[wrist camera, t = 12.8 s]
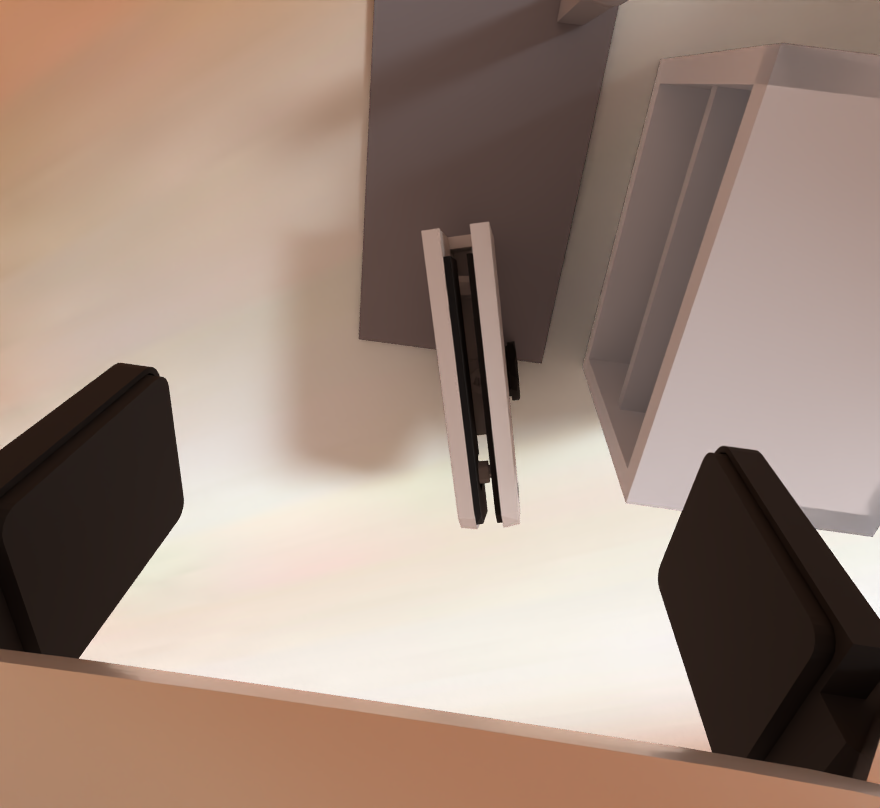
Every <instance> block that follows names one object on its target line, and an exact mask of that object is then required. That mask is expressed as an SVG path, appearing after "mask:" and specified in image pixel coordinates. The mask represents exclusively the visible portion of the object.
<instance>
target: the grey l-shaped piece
mask: <svg viewBox="0 0 880 808" xmlns="http://www.w3.org/2000/svg"><path fill="white" fill-rule="evenodd" d="M626 1H628V0H374V21H373V43H372V65H371V87H370V109H369V131H368V152H367V174H366V196H365V218H364V240H363V262H362V283H361V305H360V327H359V339H362V340H369V341H377V342H384V343H392V344H399V345H407V346H414V347H422V348H429V349H436V342H435V334H434V326H433V319H432V311H431V303H430V295H429V287H428V280H427V272H426V264H425V256H424V249H423V241H422V233H421V231H424V230H431V229H437V228H439V229H440V230H441V231H442V232H443V233H444V234H445V235H446V236H447V237H454V236H462V235H469V234H471V231H470V224H474V223H482V222H489V224H490V227H491V230H492V233H493V236H494V245H495V255H496V265H497V275H498V286H499V296H500V306H501V316H502V327H503V337H504V346H507V342H512V341H515V348H516V356H517V360H520V361H527V362H535V363H542V358H543V354H544V349H545V345H546V340H547V335H548V331H549V326H550V321H551V317H552V312H553V307H554V303H555V298H556V294H557V289H558V284H559V280H560V275H561V270H562V266H563V261H564V257H565V252H566V247H567V243H568V238H569V233H570V229H571V224H572V219H573V215H574V210H575V206H576V201H577V196H578V192H579V187H580V182H581V178H582V173H583V169H584V164H585V159H586V155H587V150H588V145H589V141H590V136H591V131H592V127H593V122H594V118H595V113H596V108H597V104H598V99H599V94H600V90H601V85H602V81H603V76H604V71H605V67H606V62H607V57H608V53H609V48H610V44H611V39H612V34H613V30H614V25H615V20H616V16H617V11H618V6H619V5H621V4H623V3H624V2H626Z"/></svg>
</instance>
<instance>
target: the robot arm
mask: <svg viewBox="0 0 880 808" xmlns="http://www.w3.org/2000/svg"><path fill="white" fill-rule="evenodd" d="M183 505H184V497H183V489H182V482H181V474H180V467H179V459H178V452H177V444H176V437H175V429H174V422H173V415H172V407H171V400H170V392H169V386H168V382H167V380H166V379H165V378H164V377H160V376H159V373H158V372H157V370H156V369H155V368H153V367H147V366H140V365H132V364H125V363H117V364H115V365H113V366H112V367H111V368H109V369H108V370H107V371H105V372H104V373H103V374H101V375H100V376H99V377H97V378H96V379H95V380H93V381H92V382H91V383H89V384H88V385H87V386H85V387H84V388H83V389H81V390H80V391H79V392H77V393H76V394H75V395H73V396H72V397H71V398H69V399H68V400H67V401H65V402H64V403H63V404H61V405H60V406H59V407H57V408H56V409H55V410H53V411H52V412H51V413H49V414H48V415H47V416H45V417H44V418H43V419H41V420H40V421H39V422H37V423H36V424H35V425H33V426H32V427H31V428H29V429H28V430H26V431H25V432H24V433H22V434H21V435H20V436H18V437H17V438H16V439H14V440H13V441H12V442H10V443H9V444H8V445H6V446H5V447H4V448H2V449H1V450H0V808H880V619H879V617H878V616H877V615H876V613H875V612H874V610H873V609H872V608H871V606H870V605H869V603H868V602H867V601H866V599H865V598H864V596H863V595H862V594H861V592H860V591H859V589H858V588H857V587H856V585H855V584H854V582H853V581H852V580H851V578H850V577H849V575H848V574H847V573H846V571H845V570H844V568H843V567H842V566H841V564H840V563H839V561H838V560H837V559H836V557H835V556H834V554H833V553H832V552H831V550H830V549H829V547H828V546H827V545H826V543H825V542H824V540H823V539H822V538H821V536H820V535H819V533H818V532H817V531H816V529H815V528H814V526H813V525H812V524H811V522H810V521H809V519H808V518H807V517H806V515H805V514H804V512H803V511H802V510H801V508H800V507H799V505H798V504H797V503H796V501H795V500H794V498H793V497H792V496H791V494H790V493H789V491H788V490H787V489H786V487H785V486H784V484H783V483H782V482H781V480H780V479H779V477H778V476H777V475H776V473H775V472H774V470H773V469H772V467H771V466H770V465H769V463H768V462H767V460H766V459H765V458H764V456H763V455H762V454H761V453H760V452H759V451H757V450H752V449H745V448H737V447H730V446H721V447H719V448H718V449H717V450H716V451H715V453H712V452H709V453H707V454H706V455H705V457H704V458H703V460H702V463H701V465H700V468H699V470H698V473H697V475H696V478H695V480H694V483H693V485H692V488H691V490H690V493H689V495H688V498H687V500H686V503H685V505H684V508H683V510H682V513H681V515H680V517H679V520H678V522H677V525H676V527H675V530H674V532H673V535H672V537H671V540H670V542H669V545H668V547H667V550H666V552H665V555H664V557H663V560H662V562H661V565H660V568H659V573H658V585H659V589H660V592H661V595H662V598H663V601H664V605H665V608H666V611H667V614H668V617H669V620H670V623H671V626H672V629H673V632H674V635H675V639H676V642H677V645H678V648H679V651H680V654H681V657H682V660H683V663H684V666H685V670H686V673H687V676H688V679H689V682H690V685H691V688H692V691H693V694H694V697H695V700H696V704H697V707H698V710H699V713H700V716H701V719H702V722H703V725H704V728H705V731H706V735H707V738H708V741H709V744H710V747H711V750H712V752H706V751H700V750H694V749H689V748H683V747H676V746H670V745H663V744H657V743H650V742H643V741H637V740H630V739H624V738H617V737H611V736H604V735H597V734H591V733H584V732H578V731H571V730H565V729H558V728H552V727H545V726H538V725H532V724H525V723H519V722H512V721H506V720H499V719H493V718H486V717H479V716H472V715H466V714H459V713H452V712H445V711H438V710H432V709H425V708H418V707H411V706H405V705H398V704H391V703H384V702H378V701H371V700H364V699H357V698H350V697H343V696H336V695H330V694H323V693H316V692H309V691H302V690H295V689H288V688H282V687H275V686H268V685H261V684H254V683H247V682H240V681H233V680H226V679H219V678H211V677H204V676H197V675H190V674H183V673H176V672H169V671H162V670H155V669H148V668H140V667H133V666H126V665H119V664H112V663H105V662H98V661H91V660H84V659H79V657H80V656H81V654H82V653H83V652H84V650H85V649H86V647H87V646H88V645H89V643H90V642H91V641H92V639H93V638H94V636H95V635H96V634H97V632H98V631H99V629H100V628H101V627H102V625H103V624H104V622H105V621H106V620H107V618H108V617H109V616H110V614H111V613H112V611H113V610H114V609H115V607H116V606H117V604H118V603H119V602H120V600H121V599H122V597H123V596H124V595H125V593H126V592H127V591H128V589H129V588H130V586H131V585H132V584H133V582H134V581H135V579H136V578H137V577H138V575H139V574H140V573H141V571H142V570H143V568H144V567H145V566H146V564H147V563H148V561H149V560H150V559H151V557H152V556H153V554H154V553H155V552H156V550H157V549H158V548H159V546H160V545H161V543H162V542H163V541H164V539H165V538H166V536H167V535H168V534H169V532H170V531H171V529H172V528H173V527H174V525H175V524H176V523H177V521H178V520H179V518H180V516H181V513H182V510H183Z"/></svg>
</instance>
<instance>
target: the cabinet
mask: <svg viewBox="0 0 880 808" xmlns="http://www.w3.org/2000/svg"><path fill="white" fill-rule="evenodd" d="M583 370H584V373H585V376H586V380H587V383H588V386H589V389H590V392H591V395H592V398H593V401H594V405H595V408H596V411H597V414H598V417H599V420H600V423H601V427H602V430H603V433H604V436H605V439H606V442H607V445H608V448H609V452H610V455H611V458H612V461H613V464H614V467H615V470H616V473H617V477H618V480H619V483H620V486H621V489H622V492H623V495H624V498H625V502H626V503H628V504H635V505H643V506H650V507H657V508H665V509H672V510H679V511H682V510H683V508H684V505H685V503H686V500H687V498H688V495H689V493H690V490H691V488H692V485H693V483H694V480H695V478H696V475H697V473H698V470H699V468H700V465H701V463H702V460H703V458H704V457H705V455H706V454H707V453H709V452H712V453H715V451H716V450H717V449H718V448H719V447H721V446H730V447H737V448H745V449H752V450H757V451H759V452H760V453H761V454H762V455H763V456H764V458H765V459H766V460H767V462H768V463H769V465H770V466H771V467H772V469H773V470H774V472H775V473H776V475H777V476H778V477H779V479H780V480H781V482H782V483H783V484H784V486H785V487H786V489H787V490H788V491H789V493H790V494H791V496H792V497H793V498H794V500H795V501H796V503H797V504H798V505H799V507H800V508H801V510H802V511H803V512H804V514H805V515H806V517H807V518H808V519H809V521H810V522H811V524H812V525H813V526H814V528H815V529H819V530H826V531H834V532H841V533H848V534H856V535H863V536H870V537H873V536H874V534H875V532H876V531H877V529H878V527H879V526H880V55H874V54H866V53H858V52H850V51H842V50H834V49H826V48H818V47H810V46H802V45H794V44H786V43H778V44H770V45H763V46H755V47H748V48H740V49H733V50H725V51H718V52H711V53H703V54H696V55H688V56H681V57H673V58H666V59H661V60H660V64H659V68H658V72H657V76H656V80H655V84H654V88H653V92H652V96H651V100H650V104H649V107H648V111H647V115H646V119H645V123H644V127H643V131H642V135H641V139H640V143H639V147H638V151H637V155H636V158H635V162H634V166H633V170H632V174H631V178H630V182H629V186H628V190H627V194H626V198H625V202H624V206H623V209H622V213H621V217H620V221H619V225H618V229H617V233H616V237H615V241H614V245H613V249H612V253H611V257H610V261H609V264H608V268H607V272H606V276H605V280H604V284H603V288H602V292H601V296H600V300H599V304H598V308H597V312H596V315H595V319H594V323H593V327H592V331H591V335H590V339H589V343H588V347H587V351H586V355H585V359H584V363H583Z"/></svg>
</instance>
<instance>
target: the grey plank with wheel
mask: <svg viewBox="0 0 880 808" xmlns="http://www.w3.org/2000/svg"><path fill="white" fill-rule="evenodd" d="M470 231H471V234H469V235H462V236H454V237H447V236H446V235H445V234H444V233H443V232H442V231H441V230H440V229H439V228H437V229H431V230H424V231H421V233H422V241H423V249H424V256H425V264H426V272H427V280H428V287H429V295H430V303H431V311H432V319H433V326H434V334H435V342H436V350H437V357H438V365H439V373H440V381H441V388H442V396H443V404H444V412H445V420H446V427H447V435H448V443H449V451H450V458H451V466H452V474H453V482H454V490H455V497H456V505H457V513H458V519H459V522H460V525H461V528H470V529H478V527H479V524H483V523H484V520H485V517H486V514H487V502H486V492H485V483H490V478H492V487H493V496H494V505H495V514H496V519H497V523H502V522H503V527H508V526H513V525H517V524H520V500H519V490H518V480H517V470H516V459H515V449H514V439H513V429H512V419H511V408H510V398H509V396H512V400H519V399H520V389H519V377H518V366H517V356H516V348H515V341H512V342H507V346H504V337H503V327H502V316H501V306H500V296H499V286H498V275H497V265H496V255H495V245H494V236H493V233H492V230H491V227H490V224H489V222H482V223H474V224H470ZM484 434H487V443H488V452H489V460H490V465H489V464H488V461H478V454H479V450H478V441H477V435H484Z"/></svg>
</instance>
